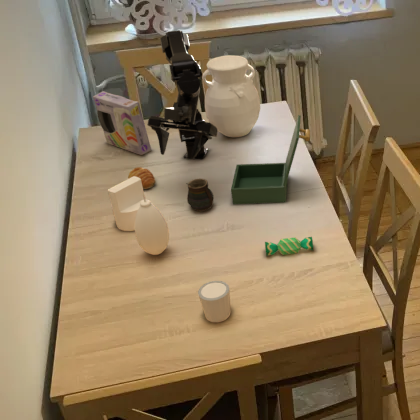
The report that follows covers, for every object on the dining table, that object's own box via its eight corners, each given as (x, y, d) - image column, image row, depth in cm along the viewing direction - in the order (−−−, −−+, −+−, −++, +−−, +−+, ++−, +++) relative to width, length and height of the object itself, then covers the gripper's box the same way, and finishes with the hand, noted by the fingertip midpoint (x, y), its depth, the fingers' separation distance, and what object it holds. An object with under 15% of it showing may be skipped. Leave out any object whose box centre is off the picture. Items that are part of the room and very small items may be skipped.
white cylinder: (204, 304, 151) (199, 281, 147) (234, 302, 151) (230, 279, 147) (200, 325, 145) (195, 301, 141) (232, 323, 145) (228, 299, 142)
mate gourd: (219, 202, 188) (215, 172, 183) (206, 216, 182) (200, 185, 177) (197, 198, 190) (192, 168, 185) (183, 212, 184) (177, 181, 179)
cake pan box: (103, 142, 222) (90, 94, 212) (115, 137, 225) (103, 88, 216) (140, 157, 212) (128, 107, 203) (152, 151, 216) (141, 101, 206)
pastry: (162, 184, 197) (159, 173, 195) (141, 193, 193) (139, 182, 191) (146, 174, 203) (143, 163, 201) (126, 182, 199) (123, 171, 197)
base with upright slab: (136, 209, 186) (127, 172, 179) (157, 219, 181) (149, 181, 175) (109, 224, 180) (99, 186, 173) (130, 234, 175) (121, 196, 169)
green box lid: (296, 137, 177) (311, 141, 177) (298, 114, 189) (312, 118, 190) (283, 185, 185) (297, 189, 185) (285, 161, 197) (298, 164, 198)
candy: (266, 256, 164) (264, 240, 164) (266, 256, 168) (264, 240, 168) (313, 251, 166) (312, 235, 166) (313, 251, 169) (311, 235, 169)
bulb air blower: (160, 264, 164) (147, 203, 154) (134, 258, 166) (119, 198, 157) (178, 246, 170) (166, 187, 160) (153, 241, 172) (139, 182, 163)
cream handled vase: (257, 116, 237) (249, 49, 224) (267, 138, 222) (260, 67, 209) (205, 124, 232) (194, 56, 219) (212, 147, 218) (201, 75, 204)
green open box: (232, 204, 187) (230, 189, 184) (238, 178, 199) (236, 164, 197) (285, 202, 188) (284, 187, 185) (288, 176, 200) (286, 162, 197)
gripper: (143, 90, 179) (132, 146, 177) (207, 97, 176) (197, 153, 174) (161, 102, 190) (151, 155, 188) (222, 108, 186) (212, 162, 185)
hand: (177, 156), depth 183 cm, fingers open, 9 cm apart
